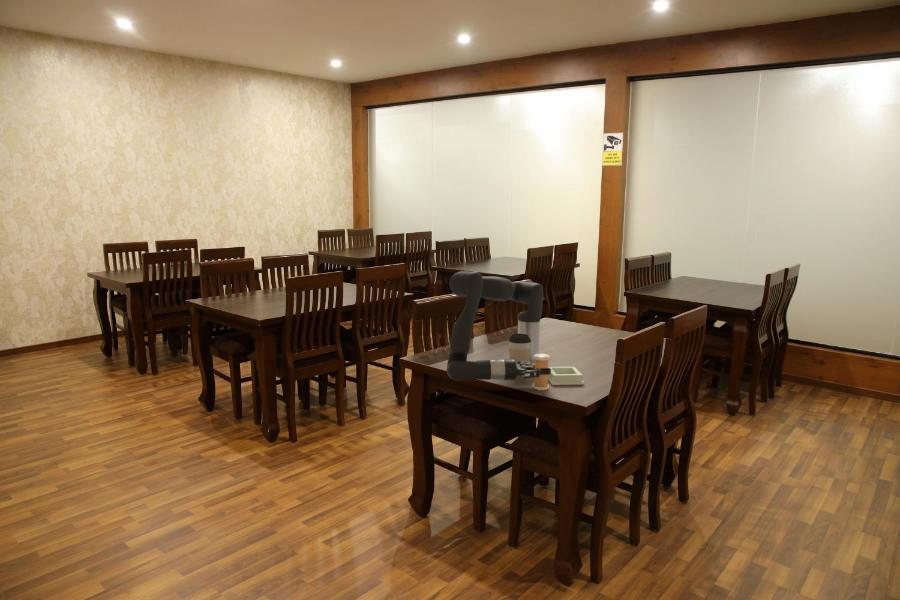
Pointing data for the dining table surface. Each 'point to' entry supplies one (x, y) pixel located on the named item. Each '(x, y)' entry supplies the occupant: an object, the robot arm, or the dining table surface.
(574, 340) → the dining table surface
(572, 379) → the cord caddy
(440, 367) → the dining table surface
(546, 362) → the cord spool
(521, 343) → the coffee cup
